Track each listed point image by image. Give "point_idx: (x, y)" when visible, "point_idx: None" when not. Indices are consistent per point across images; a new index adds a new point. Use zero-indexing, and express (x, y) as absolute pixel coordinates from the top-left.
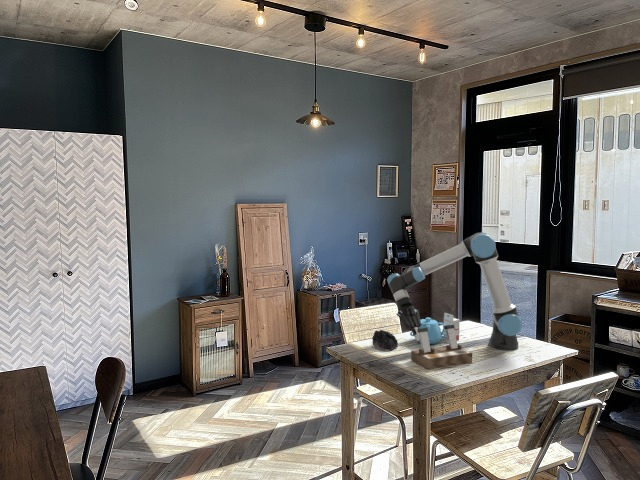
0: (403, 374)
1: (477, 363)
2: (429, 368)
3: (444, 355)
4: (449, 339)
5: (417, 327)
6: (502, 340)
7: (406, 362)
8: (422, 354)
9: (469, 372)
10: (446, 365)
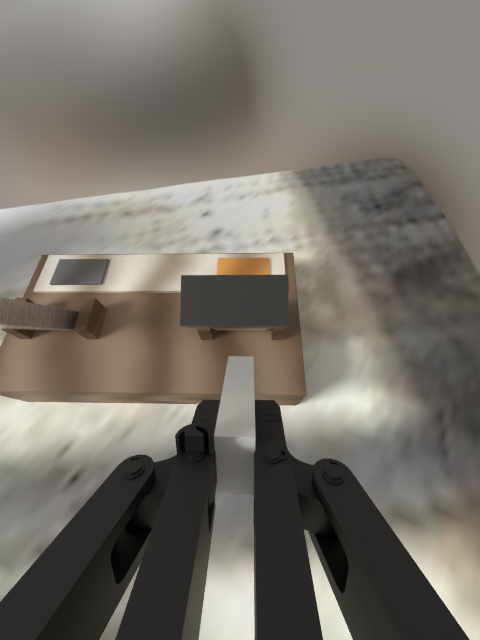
0: (402, 273)
1: None
2: None
3: (189, 259)
4: (43, 306)
5: (215, 429)
6: None
7: (332, 388)
8: None
9: (163, 221)
10: None
